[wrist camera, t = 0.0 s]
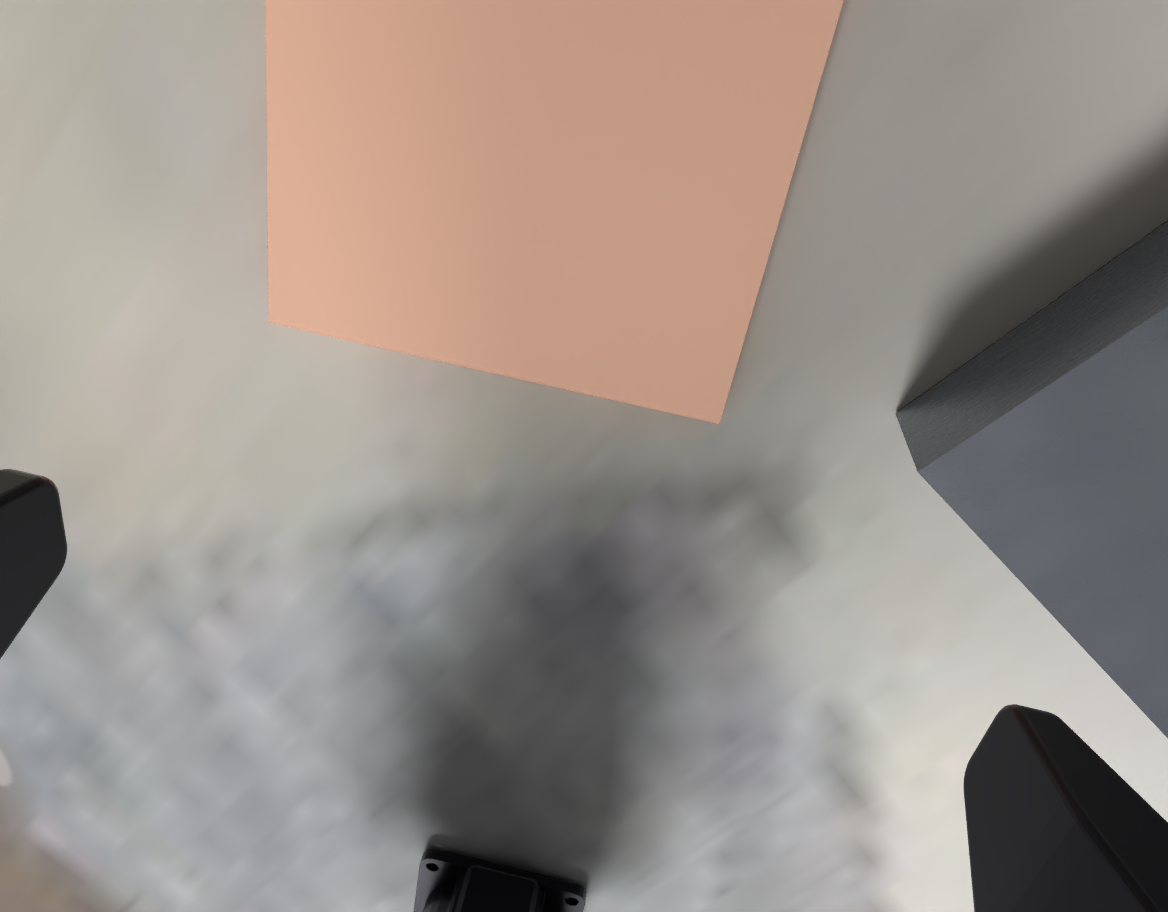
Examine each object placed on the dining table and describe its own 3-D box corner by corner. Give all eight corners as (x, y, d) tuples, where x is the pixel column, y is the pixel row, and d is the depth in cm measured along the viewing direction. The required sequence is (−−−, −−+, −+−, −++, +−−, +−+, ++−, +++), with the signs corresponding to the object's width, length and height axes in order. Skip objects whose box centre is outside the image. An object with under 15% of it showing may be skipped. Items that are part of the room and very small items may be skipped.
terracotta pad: (719, 410, 23) (719, 424, 22) (282, 312, 23) (268, 322, 23) (876, -129, 17) (882, -134, 16) (281, -249, 17) (263, -258, 17)
